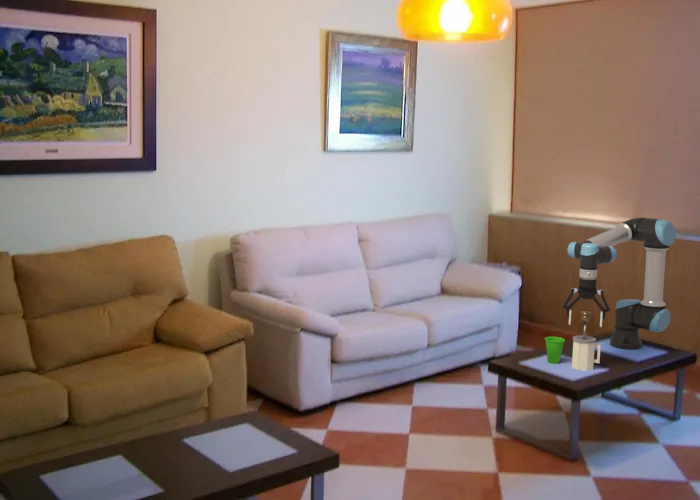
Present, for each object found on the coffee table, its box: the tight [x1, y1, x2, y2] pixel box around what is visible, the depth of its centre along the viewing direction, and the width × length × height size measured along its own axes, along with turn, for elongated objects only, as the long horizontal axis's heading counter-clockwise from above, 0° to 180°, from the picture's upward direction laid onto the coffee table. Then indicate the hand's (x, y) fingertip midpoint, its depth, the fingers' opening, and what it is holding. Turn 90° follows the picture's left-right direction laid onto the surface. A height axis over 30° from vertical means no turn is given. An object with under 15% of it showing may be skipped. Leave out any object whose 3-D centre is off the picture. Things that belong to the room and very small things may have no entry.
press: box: [571, 334, 601, 372], centre depth 367 cm, size 10×12×14 cm
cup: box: [544, 336, 566, 365], centre depth 374 cm, size 9×9×11 cm
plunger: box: [580, 310, 592, 339], centre depth 366 cm, size 6×6×22 cm
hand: (585, 325), depth 365 cm, fingers open, 13 cm apart
